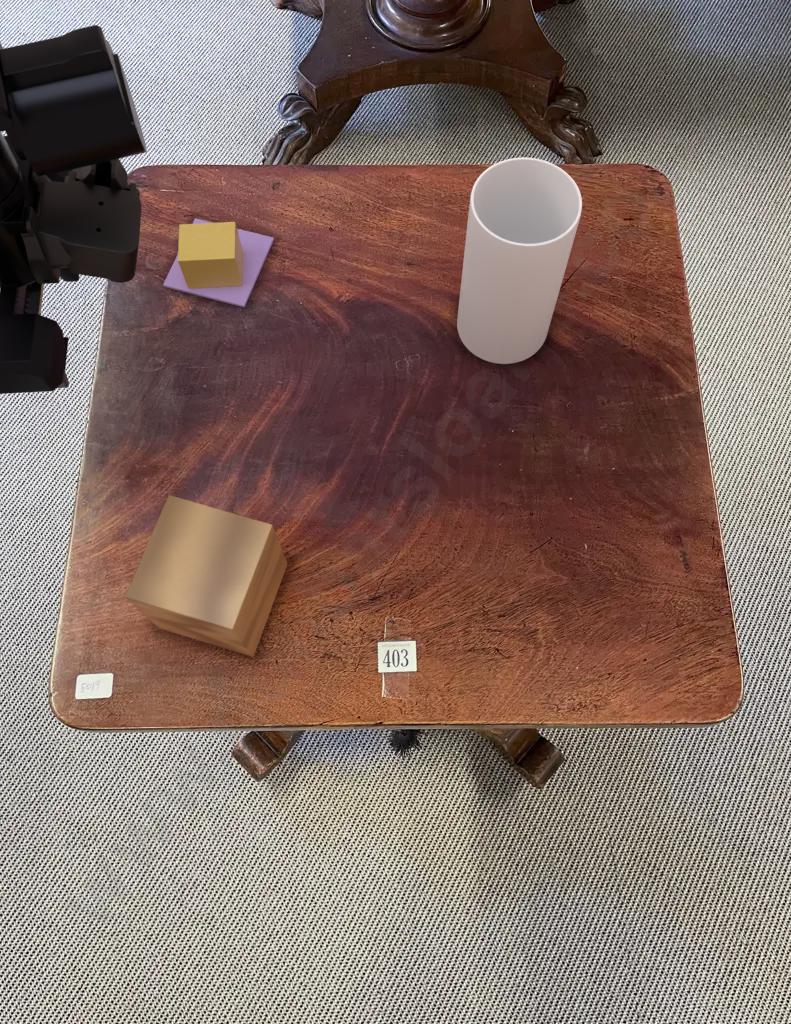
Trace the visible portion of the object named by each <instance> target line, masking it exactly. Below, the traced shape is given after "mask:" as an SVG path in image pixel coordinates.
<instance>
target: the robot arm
mask: <svg viewBox="0 0 791 1024" xmlns="http://www.w3.org/2000/svg"><path fill="white" fill-rule="evenodd" d="M2 132H5V135H4V134H3V133H2ZM145 153H147V145H146V141H145V136H144V133H143V129H142V125H141V122H140V118H139V115H138V111H137V108H136V105H135V101H134V98H133V95H132V92H131V89H130V86H129V83H128V79H127V76H126V73H125V70H124V67H123V65H122V62H121V59H120V56H119V53H114V50H113V48H112V46H111V43H110V41H109V40H107V39H106V36H105V34H104V30H103V28H102V26H99V25H98V24H95V25H89V26H85V27H81V28H80V27H79V28H77V29H73V30H71V31H68V32H67V33H64V34H63V35H59V36H56V37H51V38H47V39H42V40H37V41H33V42H28V43H24V44H19V45H14V46H10V47H5V48H4V47H3V44H2V42H0V395H5V394H7V395H8V394H24V393H25V394H27V393H44V392H46V393H48V392H54V391H55V390H56V389H67V388H69V387H70V381H69V378H68V375H67V372H66V367H67V358H68V347H69V336H65V335H64V331H63V329H62V328H61V325H59V323H58V321H57V320H55V319H52V318H49V317H47V316H44V315H42V307H43V297H44V288H45V285H50V284H59V283H60V279H62V280H63V282H67V283H76V282H78V281H80V275H81V276H85V277H86V276H87V277H93V278H100V279H105V280H109V281H111V282H114V283H120V284H124V283H128V282H130V281H132V280H133V279H134V278H135V276H136V272H137V263H138V254H139V246H140V237H141V235H140V234H141V223H142V221H141V220H142V208H143V207H142V206H143V205H142V201H141V199H140V197H141V196H140V195H141V192H140V190H139V189H138V188H137V183H133V182H128V180H129V179H128V177H129V175H128V172H127V170H126V168H125V167H124V165H123V163H122V161H121V159H124V158H128V157H133V156H136V155H141V154H145Z"/></svg>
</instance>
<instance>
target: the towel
mask: <svg viewBox="0 0 791 1024" xmlns="http://www.w3.org/2000/svg"><path fill="white" fill-rule="evenodd" d="M199 223H214V222H213V221H208V220H204V219H201V218H196V217H195V218H194V219H193V221H192V224H199ZM237 230H238V234H239V238H240V242H241V246H242V249H243V280H242V286H229V287H209V288H188V287H187V284H186V281H185V279H184V276H183V273H182V271H181V268H180V266H179V263H178V254H177V255H176V257H175V259H174V261H173V263H172V266H171V268H170V270H169V271H168V274H167V275H166V277H165V280H164V282H163V284H162V286H163V287H164V288H167V289H170V290H174V291H179V292H182V293H185V294H190V295H193V296H197V297H202V298H205V299H210V300H214V301H218V302H220V303H225V304H229V305H232V306H236V307H240V308H246V305H247V303H248V301H249V299H250V296H251V294H252V292H253V289H254V288H255V285H256V283H257V281H258V278H259V276H260V273H261V271H262V269H263V266H264V265H265V262H266V260H267V257H268V256H269V253H270V251H271V248H272V246H273V243H274V241H275V237H272V236H269V235H265V234H261V233H256V232H253V231H249V230H244V229H240V228H237Z"/></svg>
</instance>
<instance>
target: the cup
mask: <svg viewBox="0 0 791 1024" xmlns="http://www.w3.org/2000/svg"><path fill="white" fill-rule="evenodd" d="M469 197H470V198H469V205H468V213H467V214H468V215H467V216H468V217H467V224H466V234H465V243H464V245H465V246H464V251H463V252H464V253H463V261H462V269H461V270H462V273H461V281H460V290H459V298H458V310H457V319H456V328H457V334H458V336H459V339H460V340H461V342H462V344H463V345H464V347H465V348H466V349H467V350H468V352H470V353H471V354H473V355H474V356H475V357H477V358H479V359H481V360H484V361H486V362H488V363H492V364H499V365H509V364H516V363H520V362H523V361H526V360H527V359H529V358H531V357H532V356H533V355H535V354H536V353H537V352H539V350H540V349H541V348H542V346H543V345H544V343H545V342H546V339H547V337H548V333H549V329H550V325H551V322H552V319H553V315H554V312H555V309H556V304H557V301H558V297H559V294H560V290H561V287H562V284H563V280H564V277H565V274H566V268H567V266H568V263H569V259H570V255H571V252H572V249H573V245H574V240H575V238H576V234H577V230H578V227H579V223H580V221H581V216H582V210H583V198H582V194H581V190H580V188H579V186H578V185H577V183H576V181H575V180H574V179H573V178H572V176H570V175H569V173H567V172H566V170H564V169H563V168H561V167H559V166H558V165H557V164H554V163H552V162H550V161H547V160H545V159H540V158H535V157H525V156H524V157H523V156H522V157H513V158H508V159H504V160H501V161H498V162H496V163H494V164H492V165H490V166H489V167H488V168H486V169H485V170H484V171H483V172H482V173H481V174H480V175H479V176H478V177H477V179H476V180H475V182H474V184H473V187H472V190H471V192H470V196H469Z"/></svg>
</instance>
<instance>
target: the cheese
mask: <svg viewBox="0 0 791 1024" xmlns="http://www.w3.org/2000/svg"><path fill="white" fill-rule="evenodd" d="M178 226H179V227H178V244H177V245H178V247H177V255H178V263H179V266H180V268H181V271H182V273H183V276H184V279H185V281H186V284H187V287H188V288H209V287H229V286H242V280H243V249H242V246H241V242H240V238H239V234H238V230H237V229H238V227H237V223H236V221H224V222H223V221H221V222H213V223H199V224H193V223H182V224H178Z"/></svg>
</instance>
